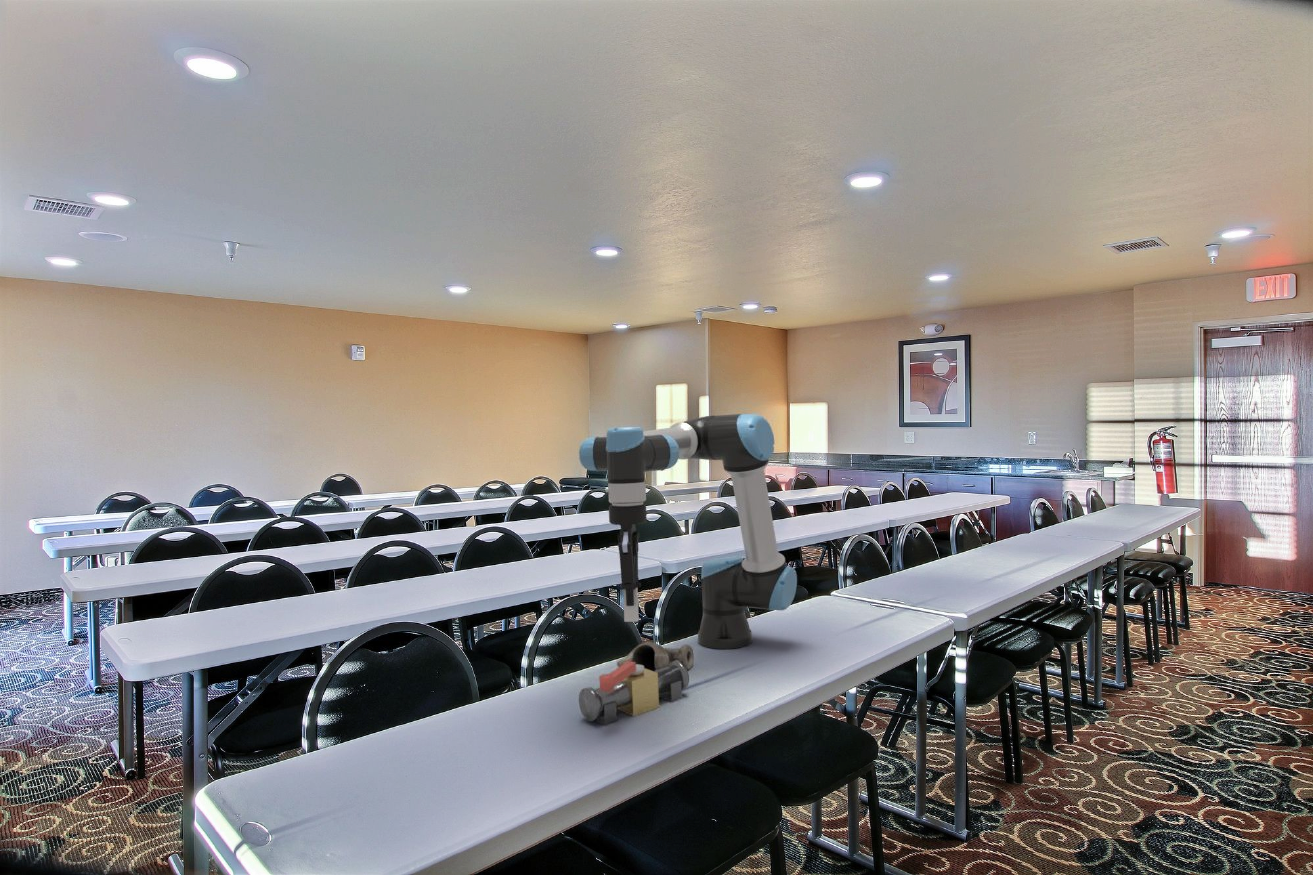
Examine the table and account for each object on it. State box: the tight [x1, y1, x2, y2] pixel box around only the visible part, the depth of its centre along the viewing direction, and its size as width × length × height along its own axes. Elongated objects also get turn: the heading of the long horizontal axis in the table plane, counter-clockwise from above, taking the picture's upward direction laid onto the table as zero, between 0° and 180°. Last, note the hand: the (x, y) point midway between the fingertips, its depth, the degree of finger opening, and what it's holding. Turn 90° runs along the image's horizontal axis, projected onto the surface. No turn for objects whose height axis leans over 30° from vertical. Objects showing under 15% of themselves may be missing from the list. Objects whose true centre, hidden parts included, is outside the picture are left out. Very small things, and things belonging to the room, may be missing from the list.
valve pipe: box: [578, 660, 690, 726], centre depth 163 cm, size 25×7×8 cm, turn 129°
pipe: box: [616, 641, 694, 671], centre depth 185 cm, size 16×9×15 cm
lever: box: [598, 661, 644, 692], centre depth 157 cm, size 16×4×3 cm, turn 156°
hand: (631, 620), depth 150 cm, fingers closed
